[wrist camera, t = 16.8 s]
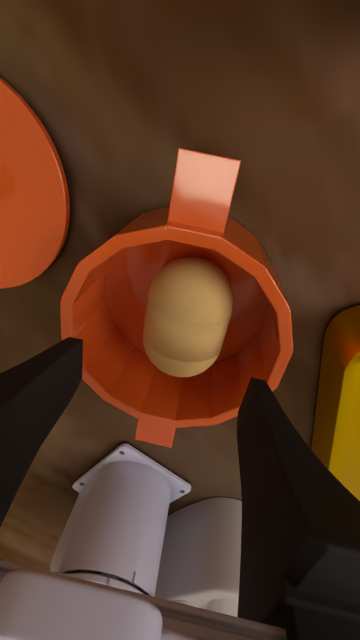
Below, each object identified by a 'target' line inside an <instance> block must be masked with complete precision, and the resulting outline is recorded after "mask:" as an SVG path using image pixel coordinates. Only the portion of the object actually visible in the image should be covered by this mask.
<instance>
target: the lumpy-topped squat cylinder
mask: <svg viewBox="0 0 360 640" xmlns="http://www.w3.org/2000/svg"><path fill="white" fill-rule="evenodd" d="M241 526H242V501H239V500H236V499H232V498H224V497H218V498H210V499H206V500H203V501H200V502H197V503H194V504H192V505H189V506H186V507H184V508H182V509H180V510H178V511H176V512H174V513H172V514H171V515H169V516H168V517H167V522H166V528H165V534H164V541H163V547H162V553H161V559H160V565H159V572H158V578H157V584H156V590H155V596H154V597H157V598H161V599H165V600H169V601H173V602H177V603H181V604H185V605H190V606H194V607H198V608H202V609H206V610H210V611H214V612H218V613H222V614H226V615H230V616H235V617H237V614H238V597H239V580H240V558H241Z"/></svg>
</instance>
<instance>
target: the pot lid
mask: <svg viewBox="0 0 360 640" xmlns="http://www.w3.org/2000/svg"><path fill="white" fill-rule="evenodd" d="M69 217H70V202H69V191H68V186H67V181H66V176H65V173H64V170H63V166H62V163H61V160H60V158H59V155H58V153H57V150H56V148H55V146H54V144H53V142H52V140H51V138H50V136H49V134H48V133H47V131H46V129H45V127H44V126H43V124H42V123H41V121H40V120H39V118H38V117H37V115H36V114H35V112H34V111H33V110H32V109H31V108H30V106H29V105H28V104H27V103H26V102H25V100H24V99H23V98H22V97H21V96H20V95H19V94H18V93H17V92H16V91H15V90H14V89H13V88H12V87H11V86H10V85H9V84H8V83H7V82H5V81H4V80H3V79H2V78H0V289H1V288H11V287H16V286H19V285H23V284H25V283H27V282H30V281H32V280H33V279H35V278H36V277H38V276H39V275H41V274H42V273H44V272H45V271H46V270H47V269H48V268H49V267H50V266H51V265H52V264H53V262H54V261H55V260H56V258H57V257H58V255H59V253H60V251H61V250H62V248H63V245H64V242H65V239H66V236H67V232H68V226H69Z"/></svg>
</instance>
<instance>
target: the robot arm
mask: <svg viewBox="0 0 360 640" xmlns="http://www.w3.org/2000/svg"><path fill="white" fill-rule="evenodd" d="M82 370H83V340H81V339H77V338H72V337H68V338H66V339H64V340H62V341H61V342H59V343H57V344H55V345H54V346H52V347H50V348H49V349H47V350H45V351H43V352H41V353H40V354H38V355H36V356H34V357H32V358H31V359H29V360H27V361H25V362H23V363H21V364H19V365H17V366H15V367H13V368H11V369H9V370H7V371H5V372H2V373H0V526H1V524H2V522H3V520H4V518H5V516H6V514H7V512H8V509H9V507H10V505H11V503H12V501H13V499H14V497H15V495H16V493H17V491H18V489H19V487H20V485H21V483H22V481H23V479H24V477H25V475H26V473H27V471H28V469H29V467H30V465H31V463H32V461H33V459H34V458H35V456H36V454H37V452H38V450H39V448H40V447H41V445H42V443H43V442H44V440H45V439H46V437H47V436H48V434H49V433H50V431H51V430H52V428H53V427H54V425H55V423H56V422H57V420H58V419H59V417H60V416H61V414H62V413H63V411H64V410H65V408H66V407H67V405H68V404H69V402H70V401H71V399H72V397H73V395H74V393H75V391H76V389H77V387H78V385H79V383H80V381H81V379H82ZM237 442H238V454H239V465H240V477H241V490H242V526H241V558H240V580H239V597H238V614H237V617H235V616H230V615H226V614H222V613H218V612H214V611H210V610H206V609H202V608H198V607H194V606H190V605H185V604H181V603H177V602H173V601H169V600H165V599H161V598H157V597H154V596H155V590H156V584H157V578H158V572H159V565H160V559H161V553H162V547H163V541H164V534H165V528H166V522H167V516H168V509H169V503H171V502H173V501H175V500H176V499H178V498H180V497H181V496H183V495H185V494H187V493H188V492H190V491H191V485H190V484H189V483H187V482H186V481H184V480H183V479H181V478H180V477H178V476H177V475H175V474H174V473H172V472H171V471H169V470H167V469H166V468H164V467H163V466H161V465H160V464H158V463H157V462H155V461H154V460H152V459H150V458H149V457H147V456H146V455H144V454H143V453H141V452H140V451H138V450H137V449H135V448H134V447H132V446H130V445H129V444H127V443H123V444H121V445H120V446H118V447H117V448H116V449H115V450H113V451H112V452H111V453H110V454H109V455H107V456H106V457H105V458H104V459H102V460H101V461H100V462H99V463H97V464H96V465H95V466H94V467H93V468H91V469H90V470H89V471H88V472H86V473H85V474H84V475H83V476H81V477H80V478H79V479H78V480H77V481H75V482H74V484H73V486H72V487H73V489H74V490H76V491H78V492H79V495H78V498H77V500H76V502H75V505H74V507H73V509H72V512H71V514H70V517H69V519H68V521H67V524H66V526H65V528H64V531H63V533H62V535H61V538H60V540H59V542H58V545H57V547H56V549H55V552H54V555H53V558H52V562H51V568H50V571H46V570H42V569H38V568H34V567H30V566H26V565H22V564H18V563H14V562H10V561H5V560H1V559H0V640H360V501H359V500H358V499H357V498H356V497H355V496H354V495H353V494H352V493H351V492H350V491H349V490H348V489H347V488H345V487H344V486H343V484H342V483H341V482H340V481H339V480H338V479H337V478H336V477H335V476H334V475H333V474H332V473H331V472H330V471H329V470H328V469H327V468H326V467H325V465H324V464H323V463H322V462H321V461H320V460H319V458H318V457H317V456H316V455H315V454H314V452H313V451H312V450H311V449H310V448H309V446H308V445H307V444H306V443H305V441H304V440H303V438H302V437H301V436H300V434H299V433H298V432H297V430H296V429H295V427H294V426H293V424H292V423H291V421H290V420H289V418H288V417H287V415H286V414H285V412H284V411H283V409H282V407H281V406H280V404H279V402H278V401H277V399H276V397H275V395H274V394H273V392H272V390H271V389H270V387H269V385H268V384H267V382H266V380H262V379H257V378H253V377H251V379H250V381H249V384H248V387H247V389H246V392H245V395H244V397H243V400H242V403H241V405H240V408H239V411H238V421H237Z"/></svg>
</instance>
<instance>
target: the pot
mask: <svg viewBox="0 0 360 640" xmlns="http://www.w3.org/2000/svg"><path fill="white" fill-rule="evenodd" d="M240 165H241V160H240V159H236V158H231V157H226V156H221V155H216V154H211V153H207V152H202V151H197V150H192V149H187V148H178V153H177V160H176V167H175V173H174V180H173V187H172V193H171V200H170V207H164V208H160V209H157V210H153V211H150V212H145V213H143V214H141V215H139V216H138V217H137V218H136V219H134V220H133V221H132V222H130V223H129V224H128V225H126V226H125V227H124V228H122V229H121V230H120V231H118V232H117V233H116V234H114V235H113V236H112V237H110V238H109V239H108V240H107V241H105V242H104V243H103V244H102V245H100V246H99V247H98V248H96V249H95V250H94V251H93V252H91V253H90V254H89V255H88V256H86V257H85V258H84V259H82V260H81V261H80V262H79V263H78V264H77V266H76V268H75V270H74V272H73V274H72V276H71V279H70V281H69V283H68V285H67V287H66V289H65V291H64V293H63V295H62V297H61V301H60V313H61V339H62V340H64V339H66V338H68V337H72V338H77V339H81V340H83V370H82V379H83V380H84V381H85V382H86V383H87V384H88V385H89V386H90V387H91V388H92V389H93V390H94V391H95V392H96V393H97V394H98V395H99V396H100V397H101V398H102V399H103V400H105V401H106V402H108V403H109V404H111V405H113V406H115V407H117V408H119V409H120V410H122V411H124V412H126V413H128V414H130V415H131V416H133V417H135V418H137V419H138V422H137V429H136V435H135V439H136V440H140V441H144V442H148V443H153V444H157V445H162V446H166V447H172V443H173V439H174V435H175V431H176V427H195V426H213V425H216V424H219V423H222V422H224V421H227V420H230V419H232V418H235V417H237V416H238V411H239V408H240V405H241V403H242V400H243V397H244V395H245V392H246V389H247V387H248V384H249V381H250V379H251V377H253V378H257V379H262V380H266V382H267V384H268V385H269V387H270V389H271V390H272V392H273V391H274V390H275V389H276V388H277V387H278V385H279V383H280V380H281V378H282V376H283V374H284V371H285V369H286V367H287V365H288V362H289V360H290V358H291V356H292V353H293V335H292V319H291V309H290V306H289V303H288V301H287V298H286V296H285V293H284V291H283V288H282V285H281V283H280V280H279V278H278V275H277V273H276V270H275V268H274V266H273V265H272V263H271V261H270V259H269V258H268V256H267V254H266V252H265V250H264V249H263V247H262V246H261V244H260V242H259V240H258V239H257V238H256V236H255V235H253V234H252V233H250V232H249V231H248V230H247V229H246V228H245V227H243V226H242V225H241V224H240V223H238V222H237V221H235V220H233V219H232V218H230V217H228V214H229V210H230V206H231V202H232V198H233V193H234V189H235V185H236V181H237V177H238V173H239V169H240ZM186 257H197V258H202V259H205V260H208V261H210V262H212V263H213V264H215V265H216V266H218V267H219V268H220V269H221V270H222V271H223V272H224V273H225V275H226V276H227V278H228V280H229V282H230V283H231V287H232V291H233V295H234V304H233V309H232V314H231V318H230V321H229V324H228V328H227V331H226V334H225V338H224V341H223V345H222V348H221V351H220V353H219V355H218V357H217V359H216V360H215V362H214V363H213V364H212V365H211V366H210V367H209V368H208V369H206V370H205V371H204V372H202V373H200V374H197V375H194V376H191V377H175V376H171V375H168V374H166V373H164V372H162V371H161V370H159V369H158V368H157V367H156V366H155V365H154V364H153V363H152V362H151V361H150V359H149V358H148V356H147V354H146V351H145V348H144V344H143V330H144V322H145V315H146V307H147V300H148V293H149V290H150V286H151V283H152V281H153V279H154V277H155V276H156V275H157V273H158V272H159V271H160V270H161V269H162V268H163V267H164V266H166V265H167V264H168V263H170V262H172V261H174V260H177V259H180V258H186Z"/></svg>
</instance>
